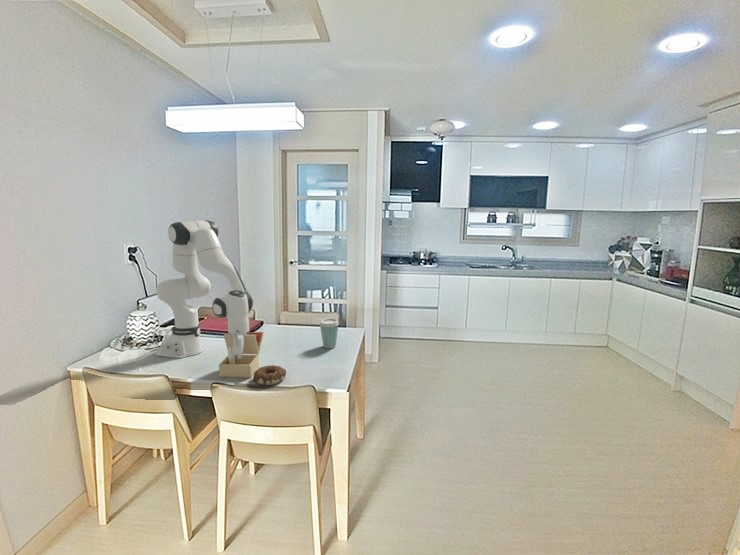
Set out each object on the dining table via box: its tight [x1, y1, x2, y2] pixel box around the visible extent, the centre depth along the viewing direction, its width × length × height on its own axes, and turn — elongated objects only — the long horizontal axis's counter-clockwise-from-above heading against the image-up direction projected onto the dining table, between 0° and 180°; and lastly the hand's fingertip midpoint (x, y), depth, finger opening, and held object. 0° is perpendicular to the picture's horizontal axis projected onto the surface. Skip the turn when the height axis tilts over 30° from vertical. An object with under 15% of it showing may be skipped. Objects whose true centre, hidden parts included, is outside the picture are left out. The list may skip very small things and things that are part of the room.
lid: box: [223, 333, 260, 355], centre depth 181 cm, size 14×12×1 cm
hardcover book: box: [246, 331, 264, 351], centre depth 216 cm, size 12×21×4 cm, turn 10°
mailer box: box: [218, 346, 260, 379], centre depth 179 cm, size 14×12×11 cm
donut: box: [252, 364, 287, 386], centre depth 172 cm, size 14×14×5 cm
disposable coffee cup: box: [319, 317, 340, 349], centre depth 214 cm, size 11×11×15 cm
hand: (239, 357), depth 174 cm, fingers closed
